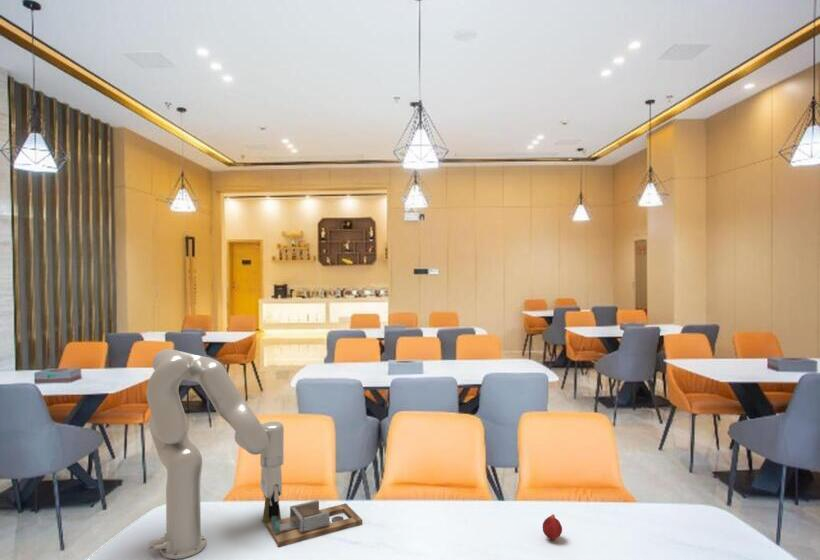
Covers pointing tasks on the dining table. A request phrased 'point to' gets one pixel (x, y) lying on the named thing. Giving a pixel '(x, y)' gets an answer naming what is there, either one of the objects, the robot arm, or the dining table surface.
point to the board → (337, 525)
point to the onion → (552, 527)
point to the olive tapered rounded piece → (266, 511)
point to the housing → (297, 518)
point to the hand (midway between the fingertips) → (271, 513)
